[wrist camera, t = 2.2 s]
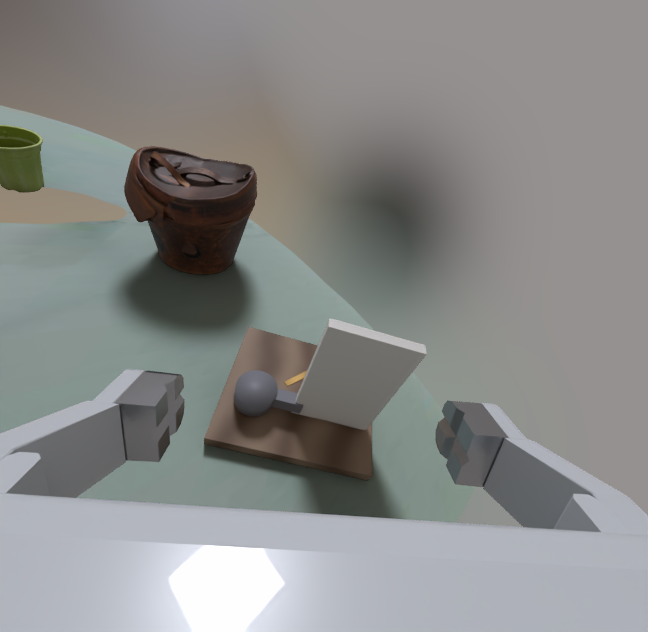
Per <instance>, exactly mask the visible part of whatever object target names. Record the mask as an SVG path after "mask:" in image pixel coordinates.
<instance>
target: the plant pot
mask: <svg viewBox="0 0 648 632" xmlns="http://www.w3.org/2000/svg"><path fill="white" fill-rule="evenodd" d="M42 142H43V140H42V138H41V136H39V135H38V134H37V133H35V132H33V131H30V130H27V129H24V128H20V127H14V126H7V125H0V184H1V186H2V187H4V188H5V189H8V190H16V191H18V192H34V191H38V190H40V189H41V187H42V186H44V181H43V174H42V166H41V158H40V151H41V144H42Z"/></svg>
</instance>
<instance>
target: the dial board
mask: <svg viewBox="0 0 648 632" xmlns="http://www.w3.org/2000/svg"><path fill="white" fill-rule="evenodd" d="M316 349H317V345H313V344H310V343H306V342H302V341H299V340H295V339H291V338H288V337H284V336H280V335H277V334H273V333H269V332H266V331H262V330H258V329H255V328H251V327H248V329H247V332H246V334H245V337H244V339H243V342H242V344H241V347H240V349H239V352H238V354H237V357H236V359H235V362H234V364H233V367H232V370H231V372H230V375H229V377H228V380H227V382H226V385H225V387H224V390H223V392H222V395H221V397H220V400H219V402H218V405H217V407H216V410H215V413H214V415H213V418H212V420H211V423H210V425H209V428H208V430H207V433H206V435H205V438H204V444H207V445H211V446H216V447H220V448H225V449H229V450H234V451H238V452H243V453H247V454H252V455H256V456H261V457H265V458H270V459H274V460H278V461H283V462H287V463H292V464H296V465H301V466H305V467H310V468H314V469H319V470H323V471H328V472H332V473H337V474H341V475H345V476H350V477H354V478H359V479H363V480H369V479H370V478H371V477H372V428H371V424H370V425H369V427H368V428H367V429H366V430H364V429H360V428H356V427H352V426H348V425H343V424H339V423H335V422H331V421H327V420H323V419H319V418H315V417H311V416H307V415H303V414H298V413H294V412H291V411H287V410H283V409H279V408H275V407H272V408H271V409H270V410H269V411H268V412H267V413H265V414H264V415H261V416H257V417H251V416H247V415H244V414H243V413H241V412H240V411H239V410H238V409H237V408H236V406H235V404H234V392H235V387H236V382H237V380H238V379H239V377H240V376H241V375H242V374H244V373H246V372H248V371H253V370H259V371H264V372H266V373H268V374H270V375H271V376H272V377H273V378H274V379H275V381H276V383H277V388H279V389H283V390H287V391H291V392H295V393H298V391H299V389H300V387H301V384H302V382H303V379H304V377H305V375H306V372H307V370H308V368H309V365H310V363H311V361H312V358H313V356H314V354H315V351H316Z"/></svg>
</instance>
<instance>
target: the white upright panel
mask: <svg viewBox="0 0 648 632" xmlns="http://www.w3.org/2000/svg"><path fill="white" fill-rule="evenodd" d="M425 356H426V348H425V345H422V344H419V343H415V342H412V341H408V340H405V339H401V338H398V337H394V336H391V335H387V334H384V333H380V332H377V331H373V330H370V329H366V328H363V327H359V326H356V325H352V324H349V323H345V322H342V321H338V320H335V319H331V318H329V320H328V323H327V325H326V328H325V330H324V332H323V335H322V337H321V339H320V342H319V344H318V346H317V349H316V351H315V354H314V356H313V358H312V361H311V363H310V365H309V368H308V370H307V372H306V375H305V377H304V379H303V382H302V384H301V387H300V389H299V391H298V393H295V392H291V391H287V390H283V389H279V388H277V383H276V381H275V379H274V378H273V377H272V376H271V375H270V374H268V373H266V372H264V371H259V370H253V371H248V372H246V373H244V374H242V375H241V376H240V377H239V379H238V380H237V382H236V387H235V392H234V404H235V406H236V408H237V409H238V410H239V411H240V412H241V413H243V414H244V415H247V416H251V417H257V416H261V415H264V414H265V413H267V412H268V411H269V410H270V409H271V408H272V407H275V408H279V409H283V410H287V411H291V412H294V413H298V414H303V415H307V416H311V417H315V418H319V419H323V420H327V421H331V422H335V423H339V424H343V425H348V426H352V427H356V428H360V429H364V430H366V429H367V428H368V427H369V425H370V424H371V423H372V422H373V420H374V419H375V418H376V417H377V415H378V414H379V413H380V412H381V410H382V409H383V408H384V407H385V406H386V404H387V403H388V402H389V401H390V399H391V398H392V397H393V396H394V394H395V393H396V392H397V391H398V389H399V388H400V387H401V386H402V384H403V383H404V382H405V381H406V379H407V378H408V377H409V376H410V374H411V373H412V372H413V371H414V369H415V368H416V367H417V366H418V364H419V363H420V362H421V361H422V359H423V358H424V357H425Z"/></svg>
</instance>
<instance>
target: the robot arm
mask: <svg viewBox="0 0 648 632" xmlns="http://www.w3.org/2000/svg"><path fill="white" fill-rule="evenodd" d="M183 388H184V382H183V377H182V375H180V374H172V373H163V372H155V371H145V370H136V369H127V370H125V371H124V372H122V373H121V374H120V375H119V376H118V377H117V378H116V379H115V380H114V381H113V382H112V383H111V384H110V385H109V386H108V387H107V388H105V389H104V390H103V391H102V392H101V393H100V394H99V395H98V396H97V397H96V398H95V399H94V400H93V401H84V402H82V403H79V404H76V405H74V406H71V407H69V408H66V409H63V410H61V411H58V412H56V413H53V414H50V415H48V416H45V417H42V418H40V419H37V420H35V421H32V422H29V423H27V424H24V425H22V426H19V427H16V428H14V429H11V430H8V431H6V432H3V433H1V434H0V632H648V516H647V515H646V514H645V513H644V512H643V511H642V510H641V509H640V508H639V507H638V506H637V505H636V504H635V503H634V502H633V501H632V500H631V499H630V498H629V497H628V496H626V495H624V494H622V493H621V492H619V491H618V490H616V489H614V488H612V487H611V486H609V485H607V484H606V483H604V482H602V481H601V480H599V479H597V478H595V477H594V476H592V475H590V474H589V473H587V472H585V471H584V470H582V469H580V468H578V467H577V466H575V465H573V464H572V463H570V462H568V461H566V460H565V459H563V458H561V457H559V456H558V455H556V454H554V453H553V452H551V451H550V450H548V449H546V448H544V447H543V446H541V445H539V444H537V443H536V442H534V441H532V440H527V439H526V438H525V437H524V435H523V434H522V433H521V432H520V431H519V430H518V429H517V427H516V426H515V425H514V424H513V423H512V422H511V420H510V419H509V418H508V417H507V416H506V415H505V413H504V412H503V411H502V410H501V409H500V408H499V407H498V406H497V405H495V404H488V403H470V402H458V401H447V402H446V403H445V404H444V407H443V410H442V413H443V415H444V417H445V418H443V419H442V420H441V421H440V422H438V425H437V429H436V444H437V448H438V450H439V452H440V454H441V455H443V456H444V457H445V458H446V459H447V460H448V461H447V464H446V467H447V469H448V471H449V473H450V475H451V477H452V479H453V481H454V483H455V484H458V485H467V486H477V487H484V488H483V489H484V490H485V491H486V492H488V494H489V495H490V496H491V497H493V498H494V499H495V500H496V501H497V502H498V503H499V504H500V505H501V506H502V507H503V508H504V509H505V510H506V511H507V512H508V513H509V514H510V515H511V516H513V518H515V519H516V520H517V521H518V522H519V523H520V524H521V525H522V526H523V527H511V526H495V525H480V524H465V523H451V522H436V521H421V520H406V519H391V518H377V517H361V516H346V515H330V514H314V513H299V512H283V511H268V510H252V509H237V508H222V507H207V506H191V505H176V504H161V503H146V502H130V501H115V500H100V499H85V498H76V497H77V496H79V495H80V494H82V493H83V492H84V491H86V490H87V489H89V488H90V487H91V486H93V485H94V484H96V483H97V482H98V481H100V480H101V479H103V478H104V477H105V476H107V475H108V474H110V473H111V472H113V471H114V470H115V469H117V468H118V467H120V466H121V465H122V464H124V463H125V462H126V460H130V461H152V462H159V461H160V460H161V458H162V456H163V454H164V453H165V451H166V449H167V447H168V446H169V444H170V435H172V434H174V433H175V432H177V430H178V428H179V426H180V424H181V421H182V418H183V414H184V399H183V398H182V396H181V395H180V392H181V391H182V389H183Z"/></svg>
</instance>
